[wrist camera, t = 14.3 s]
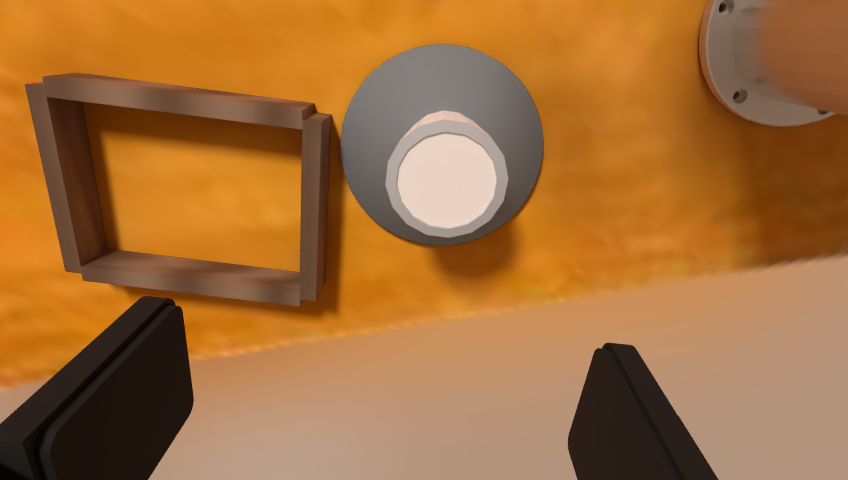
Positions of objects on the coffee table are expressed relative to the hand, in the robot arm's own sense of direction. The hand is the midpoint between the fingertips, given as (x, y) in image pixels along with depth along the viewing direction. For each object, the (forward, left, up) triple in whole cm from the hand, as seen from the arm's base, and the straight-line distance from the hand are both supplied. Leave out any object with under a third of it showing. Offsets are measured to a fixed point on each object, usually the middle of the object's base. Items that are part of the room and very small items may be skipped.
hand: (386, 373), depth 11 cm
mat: (-1, 0, -24) cm, 24 cm away
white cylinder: (-2, 0, -24) cm, 24 cm away
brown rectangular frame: (+16, +5, -24) cm, 29 cm away
